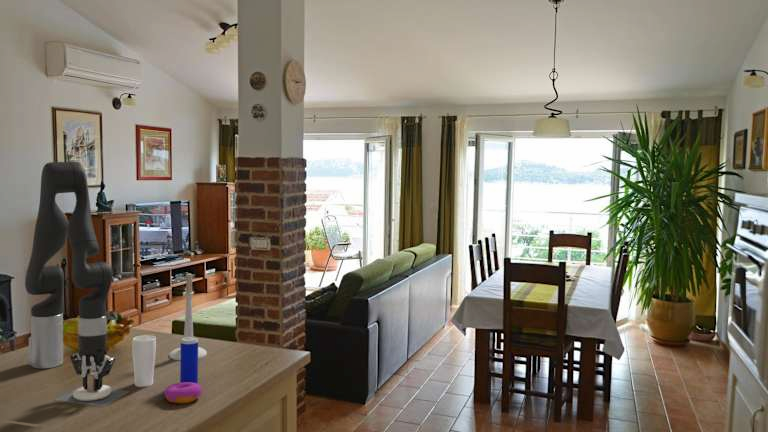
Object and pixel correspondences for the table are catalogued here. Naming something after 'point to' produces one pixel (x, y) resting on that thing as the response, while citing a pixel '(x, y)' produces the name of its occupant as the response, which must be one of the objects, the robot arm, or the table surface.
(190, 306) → the candlestick
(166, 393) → the donut
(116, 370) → the table surface
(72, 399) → the mat
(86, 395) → the lid
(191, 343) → the beverage can
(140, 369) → the drinking glass
